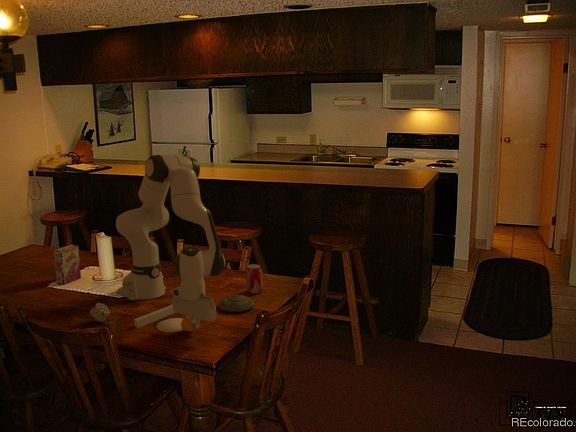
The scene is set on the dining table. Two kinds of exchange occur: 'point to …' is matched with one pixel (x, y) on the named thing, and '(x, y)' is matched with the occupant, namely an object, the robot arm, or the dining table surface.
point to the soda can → (254, 278)
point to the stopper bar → (154, 316)
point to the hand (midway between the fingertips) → (195, 327)
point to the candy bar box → (67, 264)
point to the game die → (100, 312)
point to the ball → (186, 324)
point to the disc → (170, 325)
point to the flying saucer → (236, 303)
